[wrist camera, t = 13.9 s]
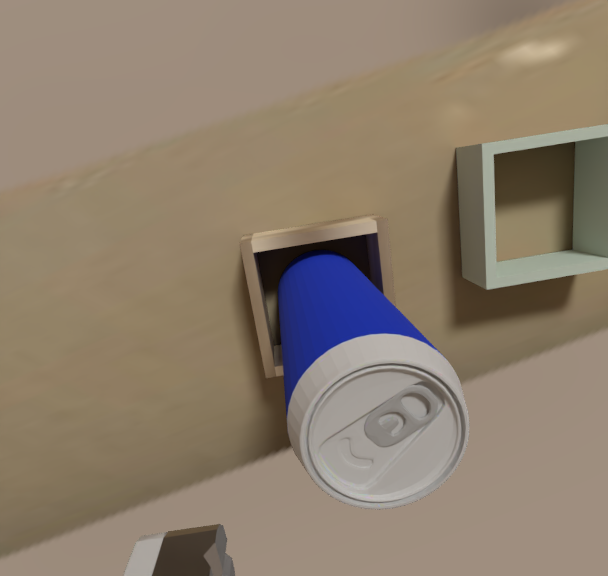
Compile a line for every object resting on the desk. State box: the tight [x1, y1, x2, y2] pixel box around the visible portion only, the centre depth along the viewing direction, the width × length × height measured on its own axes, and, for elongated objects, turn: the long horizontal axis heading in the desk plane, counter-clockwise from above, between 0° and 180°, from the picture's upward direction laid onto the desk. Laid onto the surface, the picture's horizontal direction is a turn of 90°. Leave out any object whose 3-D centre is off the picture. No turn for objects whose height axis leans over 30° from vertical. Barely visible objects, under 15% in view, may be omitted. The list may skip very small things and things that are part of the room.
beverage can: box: [278, 250, 469, 510], centre depth 18 cm, size 5×5×15 cm
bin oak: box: [240, 214, 396, 378], centre depth 24 cm, size 8×8×3 cm
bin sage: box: [456, 124, 608, 290], centre depth 23 cm, size 8×8×3 cm
